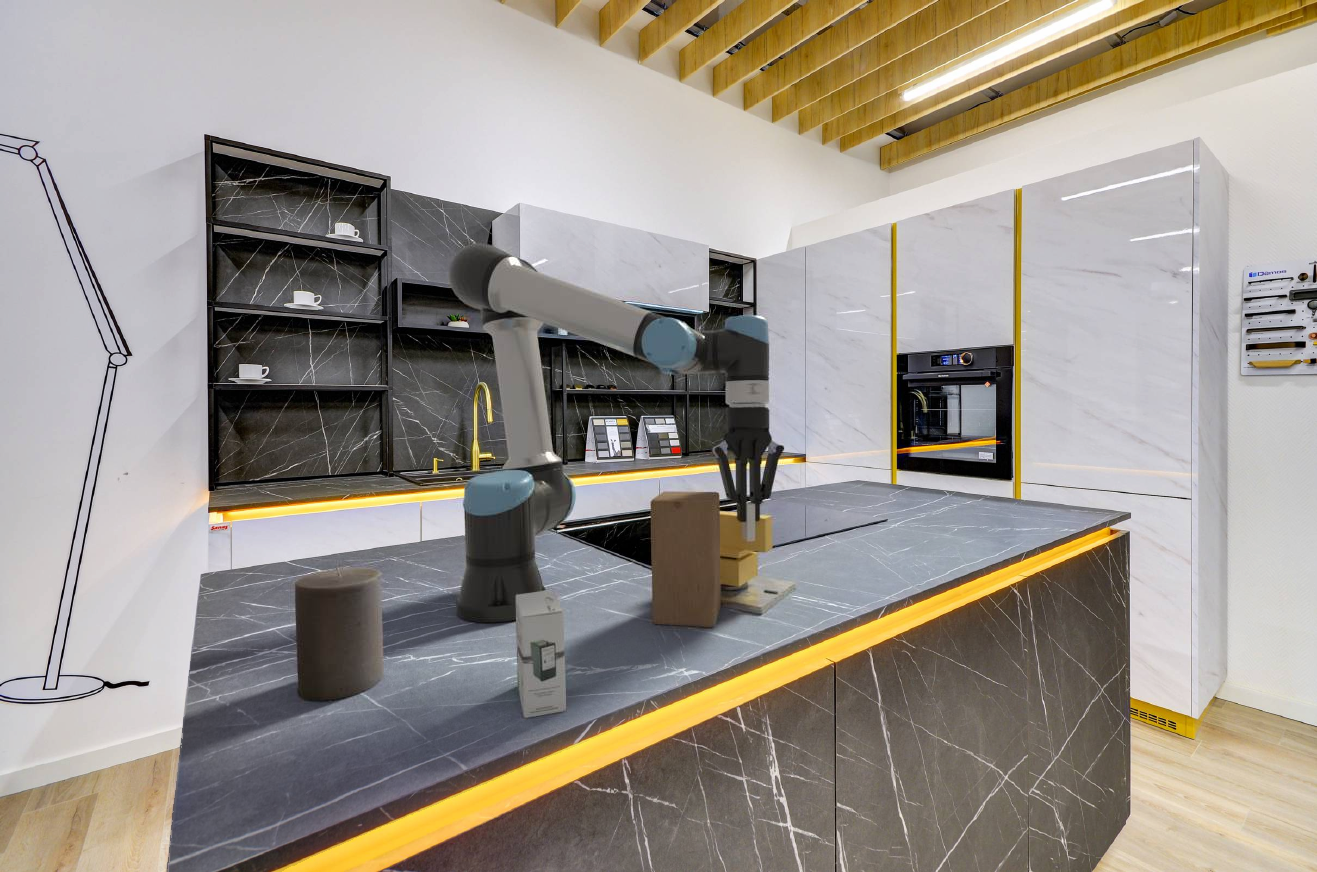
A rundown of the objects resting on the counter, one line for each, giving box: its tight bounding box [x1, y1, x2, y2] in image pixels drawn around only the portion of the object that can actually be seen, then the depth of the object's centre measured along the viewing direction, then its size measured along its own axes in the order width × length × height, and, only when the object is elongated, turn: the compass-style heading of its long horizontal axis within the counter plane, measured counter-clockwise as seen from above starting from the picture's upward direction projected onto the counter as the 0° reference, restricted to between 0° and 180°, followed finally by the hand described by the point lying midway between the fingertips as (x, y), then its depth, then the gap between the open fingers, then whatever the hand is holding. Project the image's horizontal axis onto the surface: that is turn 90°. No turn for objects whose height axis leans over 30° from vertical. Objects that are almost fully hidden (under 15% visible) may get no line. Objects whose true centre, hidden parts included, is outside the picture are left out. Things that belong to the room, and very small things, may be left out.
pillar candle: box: [294, 566, 384, 702], centre depth 73 cm, size 10×10×15 cm
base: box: [720, 556, 797, 615], centre depth 107 cm, size 20×16×10 cm
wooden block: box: [650, 490, 722, 628], centre depth 95 cm, size 10×10×20 cm
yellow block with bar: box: [720, 510, 773, 587], centre depth 107 cm, size 11×16×12 cm
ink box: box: [515, 589, 567, 719], centre depth 68 cm, size 9×5×12 cm, turn 19°
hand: (748, 539), depth 102 cm, fingers closed
